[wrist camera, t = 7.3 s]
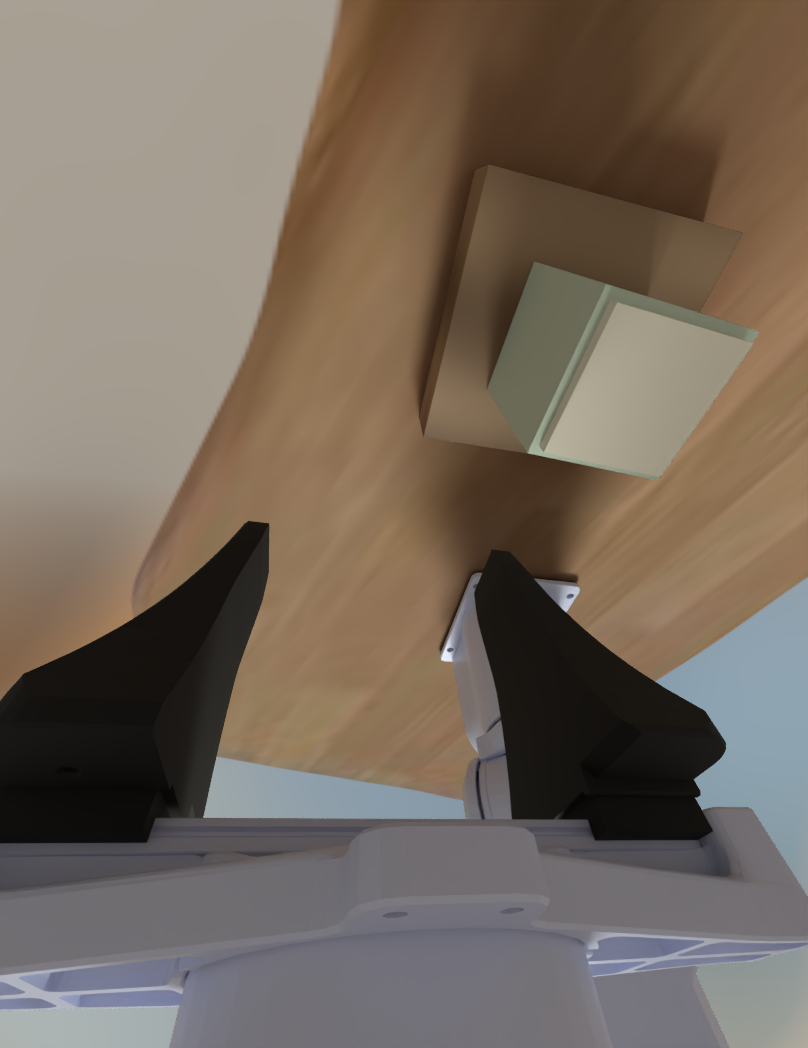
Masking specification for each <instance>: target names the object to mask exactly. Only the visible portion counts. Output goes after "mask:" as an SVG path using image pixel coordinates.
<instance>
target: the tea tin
mask: <svg viewBox="0 0 808 1048" xmlns="http://www.w3.org/2000/svg"><path fill="white" fill-rule="evenodd" d="M759 332H760V331H756V330H753V329H750V328H747V327H744V326H740V325H737V324H734V323H731V322H728V321H724V320H721V319H718V318H715V317H712V316H708V315H705V314H702V313H699V312H696V311H692V310H689V309H686V308H683V307H680V306H676V305H673V304H670V303H667V302H664V301H660V300H657V299H654V298H651V297H648V296H644V295H641V294H638V293H635V292H631V291H628V290H625V289H622V288H619V287H615V286H612V285H609V284H606V283H602V282H599V281H596V280H593V279H589V278H586V277H583V276H580V275H577V274H573V273H570V272H567V271H564V270H560V269H557V268H554V267H551V266H548V265H544V264H541V263H538V262H535V261H534V263H533V266H532V269H531V271H530V274H529V277H528V279H527V282H526V285H525V288H524V290H523V293H522V296H521V298H520V301H519V304H518V307H517V309H516V312H515V315H514V317H513V320H512V323H511V326H510V328H509V331H508V334H507V336H506V339H505V342H504V345H503V347H502V350H501V353H500V355H499V358H498V361H497V364H496V366H495V369H494V372H493V374H492V377H491V380H490V383H489V385H488V388H487V392H488V393H489V395H490V396H491V398H492V399H493V401H494V402H495V404H496V405H497V407H498V409H499V410H500V412H501V413H502V415H503V416H504V418H505V419H506V421H507V423H508V424H509V426H510V427H511V429H512V430H513V432H514V433H515V435H516V436H517V438H518V440H519V441H520V443H521V444H522V446H523V447H524V449H525V450H526V452H527V453H529V454H534V455H538V456H543V457H548V458H553V459H558V460H562V461H567V462H572V463H577V464H581V465H586V466H591V467H596V468H601V469H605V470H610V471H615V472H620V473H624V474H629V475H634V476H639V477H644V478H648V479H653V480H657V479H658V477H661V476H662V474H663V473H664V472H665V470H666V469H667V467H668V466H669V464H670V463H671V462H672V460H673V459H674V457H675V456H676V454H677V453H678V452H679V450H680V449H681V447H682V446H683V444H684V443H685V442H686V440H687V439H688V437H689V436H690V434H691V433H692V432H693V430H694V429H695V427H696V426H697V424H698V423H699V422H700V420H701V419H702V417H703V416H704V414H705V413H706V412H707V410H708V409H709V407H710V406H711V404H712V403H713V402H714V400H715V399H716V397H717V396H718V394H719V393H720V392H721V390H722V389H723V387H724V386H725V384H726V383H727V382H728V380H729V379H730V377H731V376H732V374H733V373H734V372H735V370H736V369H737V367H738V366H739V364H740V363H741V362H742V360H743V359H744V357H745V356H746V354H747V353H748V352H749V350H750V349H751V347H752V346H753V344H754V343H752V342H753V341H754V339H755V338H756V336H757V335H758V334H759Z"/></svg>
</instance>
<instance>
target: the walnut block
mask: <svg viewBox="0 0 808 1048" xmlns="http://www.w3.org/2000/svg"><path fill="white" fill-rule="evenodd" d="M742 234H743V233H741V232H738V231H734V230H730V229H726V228H723V227H719V226H715V225H712V224H708V223H704V222H701V221H697V220H693V219H689V218H686V217H682V216H678V215H675V214H671V213H667V212H664V211H660V210H656V209H652V208H649V207H645V206H641V205H638V204H634V203H630V202H627V201H623V200H619V199H616V198H612V197H608V196H604V195H601V194H597V193H593V192H590V191H586V190H582V189H579V188H575V187H571V186H567V185H564V184H560V183H556V182H553V181H549V180H545V179H542V178H538V177H534V176H530V175H527V174H523V173H519V172H516V171H512V170H508V169H505V168H501V167H497V166H493V165H490V164H488V165H486V166H483V167H481V168H478V169H476V170H474V175H473V179H472V183H471V188H470V192H469V197H468V201H467V206H466V210H465V215H464V219H463V224H462V228H461V232H460V237H459V241H458V246H457V250H456V255H455V259H454V264H453V268H452V273H451V277H450V282H449V286H448V290H447V295H446V299H445V304H444V308H443V313H442V317H441V322H440V326H439V331H438V335H437V339H436V344H435V348H434V353H433V357H432V362H431V366H430V371H429V375H428V380H427V384H426V389H425V393H424V397H423V402H422V406H421V411H420V415H419V419H420V423H421V428H422V432H423V437H424V438H431V439H437V440H443V441H450V442H456V443H463V444H469V445H476V446H482V447H488V448H495V449H501V450H508V451H514V452H520V453H527V452H526V450H525V449H524V447H523V446H522V444H521V443H520V441H519V440H518V438H517V436H516V435H515V433H514V432H513V430H512V429H511V427H510V426H509V424H508V423H507V421H506V419H505V418H504V416H503V415H502V413H501V412H500V410H499V409H498V407H497V405H496V404H495V402H494V401H493V399H492V398H491V396H490V395H489V393H488V392H487V388H488V385H489V383H490V380H491V377H492V374H493V372H494V369H495V366H496V364H497V361H498V358H499V355H500V353H501V350H502V347H503V345H504V342H505V339H506V336H507V334H508V331H509V328H510V326H511V323H512V320H513V317H514V315H515V312H516V309H517V307H518V304H519V301H520V298H521V296H522V293H523V290H524V288H525V285H526V282H527V279H528V277H529V274H530V271H531V269H532V266H533V263H534V261H535V262H538V263H541V264H544V265H548V266H551V267H554V268H557V269H560V270H564V271H567V272H570V273H573V274H577V275H580V276H583V277H586V278H589V279H593V280H596V281H599V282H602V283H606V284H609V285H612V286H615V287H619V288H622V289H625V290H628V291H631V292H635V293H638V294H641V295H644V296H648V297H651V298H654V299H657V300H660V301H664V302H667V303H670V304H673V305H676V306H680V307H683V308H686V309H689V310H692V311H696V312H700V310H701V308H702V307H703V305H704V303H705V301H706V299H707V298H708V296H709V294H710V292H711V290H712V288H713V287H714V285H715V283H716V281H717V279H718V278H719V276H720V274H721V272H722V270H723V269H724V267H725V265H726V263H727V261H728V260H729V258H730V256H731V254H732V252H733V250H734V249H735V247H736V245H737V243H738V241H739V240H740V238H741V236H742ZM527 454H529V453H527ZM533 455H534V454H533Z"/></svg>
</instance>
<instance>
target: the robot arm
mask: <svg viewBox="0 0 808 1048" xmlns="http://www.w3.org/2000/svg"><path fill="white" fill-rule="evenodd" d="M268 573H269V523H260V522H252V521H248V522H247V523H245V524H244V525H243V526H242V527H241V529H240V530H239V531H238V532H237V533H236V534H235V535H234V536H233V537H232V538H231V540H230V541H229V542H228V543H227V544H226V545H225V546H224V547H223V548H222V549H221V550H220V551H219V552H218V553H217V554H216V555H215V556H214V557H213V558H211V559H210V560H209V561H208V562H207V563H206V564H205V565H204V566H203V567H202V568H201V569H199V570H198V571H197V572H196V573H195V574H194V575H192V576H191V577H190V578H189V579H188V580H187V581H186V582H184V583H183V584H182V585H181V586H179V587H178V588H177V589H175V590H174V591H173V592H172V593H170V594H169V595H168V596H166V597H165V598H163V599H162V600H161V601H159V602H158V603H156V604H155V605H154V606H152V607H150V608H149V609H147V610H146V611H144V612H143V613H141V614H140V615H138V616H137V617H135V618H134V619H132V620H130V621H129V622H127V623H126V624H124V625H122V626H120V627H119V628H117V629H115V630H113V631H112V632H110V633H108V634H106V635H104V636H103V637H101V638H99V639H97V640H95V641H93V642H91V643H89V644H87V645H85V646H83V647H81V648H80V649H77V650H75V651H73V652H71V653H69V654H67V655H65V656H62V657H60V658H58V659H56V660H54V661H51V662H49V663H47V664H45V665H43V666H40V667H38V668H36V669H34V670H31V671H29V672H27V673H24V674H23V675H22V676H21V678H20V679H19V680H18V681H17V682H16V683H15V684H14V685H13V687H12V688H11V689H10V690H9V691H8V692H7V693H6V694H5V696H4V697H3V698H2V699H1V701H0V1011H11V1010H55V1009H98V1008H99V1009H100V1008H144V1007H145V1008H146V1007H179V1009H178V1014H177V1018H176V1022H175V1026H174V1030H173V1034H172V1038H171V1042H170V1047H169V1048H729V1045H728V1043H727V1041H726V1039H725V1037H724V1034H723V1032H722V1030H721V1028H720V1026H719V1024H718V1021H717V1019H716V1017H715V1015H714V1013H713V1010H712V1008H711V1006H710V1004H709V1002H708V999H707V997H706V995H705V993H704V991H703V988H702V986H701V984H700V982H699V980H698V978H697V975H696V971H697V968H698V966H700V965H711V964H721V963H722V964H723V963H737V962H749V961H750V962H751V961H757V960H760V959H764V958H767V957H772V956H775V955H778V954H782V953H786V952H790V951H793V950H797V949H800V948H804V947H808V896H807V895H806V893H805V892H804V890H803V889H802V887H801V885H800V884H799V882H798V881H797V879H796V877H795V876H794V875H793V873H792V871H791V869H790V868H789V866H788V865H787V863H786V862H785V860H784V858H783V857H782V856H781V854H780V852H779V851H778V849H777V848H776V846H775V844H774V843H773V841H772V840H771V838H770V836H769V835H768V833H767V832H766V830H765V829H764V827H763V825H762V824H761V822H760V821H759V819H758V818H757V816H756V815H755V813H754V811H753V810H752V809H750V808H748V807H712V808H708V809H704V810H701V808H700V806H699V804H698V803H697V801H696V799H695V797H698V796H700V790H699V788H698V786H697V785H696V783H695V781H694V779H695V778H696V777H697V776H699V775H700V774H701V773H702V772H704V771H705V770H707V769H708V768H709V767H711V766H712V765H713V764H715V763H716V762H717V761H718V760H719V759H720V758H721V757H722V756H723V754H724V752H725V750H726V742H725V741H724V739H723V738H722V736H721V735H720V733H719V732H718V730H717V728H716V727H715V726H714V724H713V722H712V721H711V719H710V718H709V716H708V715H707V713H706V712H705V711H704V710H703V709H701V708H699V707H697V706H695V705H693V704H692V703H690V702H688V701H687V700H685V699H683V698H681V697H679V696H678V695H676V694H674V693H672V692H671V691H669V690H667V689H666V688H664V687H662V686H661V685H659V684H658V683H656V682H655V681H653V680H651V679H650V678H648V677H647V676H645V675H644V674H642V673H641V672H639V671H638V670H636V669H635V668H633V667H632V666H630V665H629V664H628V663H626V662H625V661H623V660H622V659H621V658H619V657H618V656H617V655H615V654H614V653H613V652H611V651H610V650H609V649H607V648H606V647H605V646H604V645H602V644H601V643H600V642H599V641H597V640H596V639H595V638H594V637H593V636H591V635H590V634H589V633H588V632H587V631H586V630H584V629H583V628H582V627H581V626H580V625H579V624H578V623H577V622H575V621H574V620H573V619H572V618H571V617H570V616H569V615H568V614H567V613H566V612H567V610H568V609H569V607H570V606H571V604H572V603H573V601H574V599H575V598H576V596H577V595H578V593H579V591H580V587H579V586H578V584H577V583H572V582H563V581H553V580H544V579H535V578H533V577H532V576H531V575H530V574H529V573H528V571H527V570H526V569H525V568H524V567H523V566H522V565H521V564H520V563H519V561H518V560H517V559H516V558H515V557H514V556H513V555H512V554H511V553H510V552H507V551H498V550H492V551H491V554H490V556H489V558H488V561H487V563H486V565H485V568H484V570H483V573H475V574H473V575H472V577H471V579H470V581H469V584H468V586H467V589H466V591H465V593H464V596H463V598H462V601H461V603H460V606H459V608H458V611H457V613H456V616H455V618H454V621H453V623H452V626H451V628H450V631H449V633H448V636H447V638H446V641H445V643H444V646H443V648H442V651H441V653H440V657H441V660H443V661H450V662H453V667H454V672H455V678H456V684H457V689H458V695H459V701H460V706H461V712H462V717H463V723H464V728H465V731H466V734H467V737H468V739H469V741H470V743H471V744H472V746H473V747H474V748H475V750H476V751H477V752H478V754H479V757H478V758H474V759H473V760H471V761H470V763H469V765H468V768H467V772H466V776H465V779H464V785H463V802H464V811H465V817H466V819H299V818H294V819H293V818H203V815H204V811H205V806H206V802H207V797H208V792H209V787H210V783H211V778H212V773H213V769H214V765H215V760H216V756H217V752H218V747H219V743H220V739H221V734H222V730H223V726H224V722H225V718H226V713H227V709H228V705H229V701H230V697H231V693H232V689H233V685H234V681H235V677H236V674H237V671H238V668H239V665H240V662H241V659H242V656H243V653H244V651H245V648H246V645H247V642H248V640H249V637H250V634H251V631H252V628H253V626H254V623H255V620H256V617H257V615H258V612H259V609H260V606H261V603H262V600H263V596H264V591H265V587H266V582H267V578H268ZM475 584H477V585H475ZM568 594H569V595H568Z"/></svg>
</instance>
